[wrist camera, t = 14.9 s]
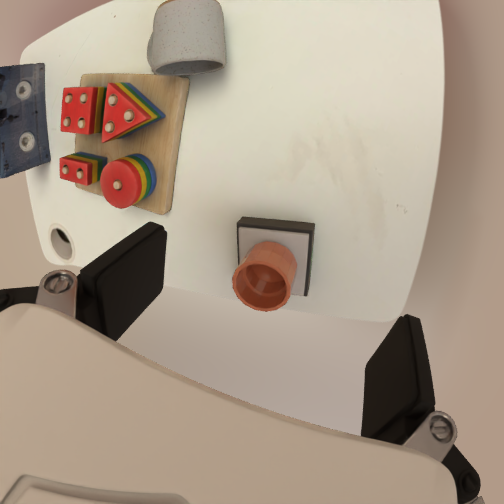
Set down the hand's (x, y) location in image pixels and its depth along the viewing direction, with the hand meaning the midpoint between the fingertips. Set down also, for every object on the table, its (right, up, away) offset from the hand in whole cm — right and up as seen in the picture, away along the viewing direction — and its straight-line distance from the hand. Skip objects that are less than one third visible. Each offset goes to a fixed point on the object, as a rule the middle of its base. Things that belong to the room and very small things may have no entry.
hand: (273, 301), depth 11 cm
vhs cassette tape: (-36, +26, +26) cm, 52 cm away
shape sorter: (-18, +17, +24) cm, 35 cm away
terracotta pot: (+2, 0, +23) cm, 23 cm away
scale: (+2, +2, +26) cm, 26 cm away
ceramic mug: (-7, +25, +17) cm, 31 cm away
